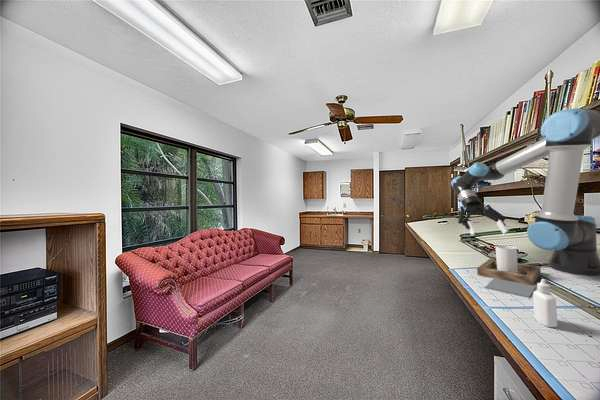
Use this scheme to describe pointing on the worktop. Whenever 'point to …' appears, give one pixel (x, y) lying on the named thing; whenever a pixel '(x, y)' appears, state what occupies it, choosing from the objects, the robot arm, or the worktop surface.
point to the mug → (506, 258)
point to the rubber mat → (511, 287)
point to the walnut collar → (529, 279)
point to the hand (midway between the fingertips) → (489, 233)
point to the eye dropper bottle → (544, 305)
